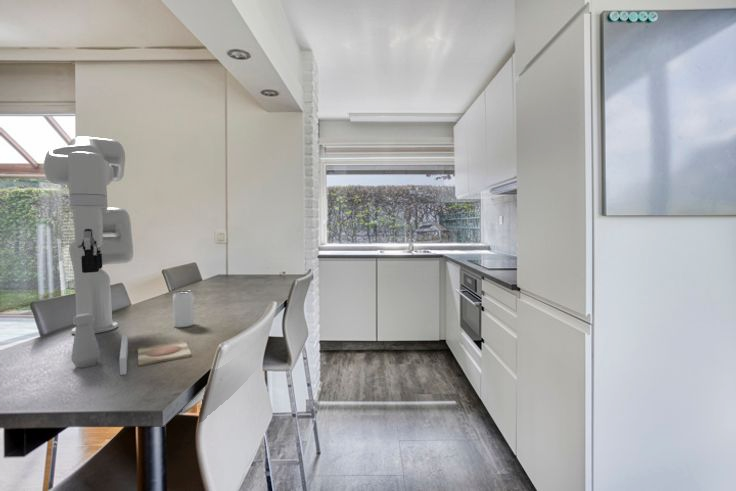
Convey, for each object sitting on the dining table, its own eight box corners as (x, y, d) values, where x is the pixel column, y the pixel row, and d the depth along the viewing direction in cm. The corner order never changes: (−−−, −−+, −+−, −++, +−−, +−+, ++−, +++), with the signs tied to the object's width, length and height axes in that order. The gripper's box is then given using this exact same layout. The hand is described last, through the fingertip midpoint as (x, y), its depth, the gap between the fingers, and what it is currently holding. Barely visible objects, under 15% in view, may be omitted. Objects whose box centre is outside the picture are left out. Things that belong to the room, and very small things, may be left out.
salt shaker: (106, 360, 93) (103, 311, 93) (87, 369, 88) (84, 317, 87) (86, 360, 94) (83, 311, 93) (65, 368, 88) (62, 317, 88)
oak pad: (137, 350, 101) (137, 347, 101) (185, 342, 108) (185, 339, 107) (138, 366, 89) (138, 363, 89) (191, 356, 96) (191, 353, 96)
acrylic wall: (122, 348, 102) (122, 335, 102) (127, 348, 103) (127, 334, 103) (120, 375, 84) (119, 358, 84) (126, 374, 85) (125, 357, 84)
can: (180, 329, 122) (179, 294, 121) (170, 326, 125) (168, 292, 124) (198, 324, 127) (197, 291, 127) (187, 322, 131) (186, 289, 130)
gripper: (75, 204, 95) (78, 268, 96) (63, 200, 81) (68, 275, 82) (109, 205, 99) (113, 266, 100) (104, 200, 85) (108, 272, 86)
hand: (92, 270), depth 91 cm, fingers open, 9 cm apart
